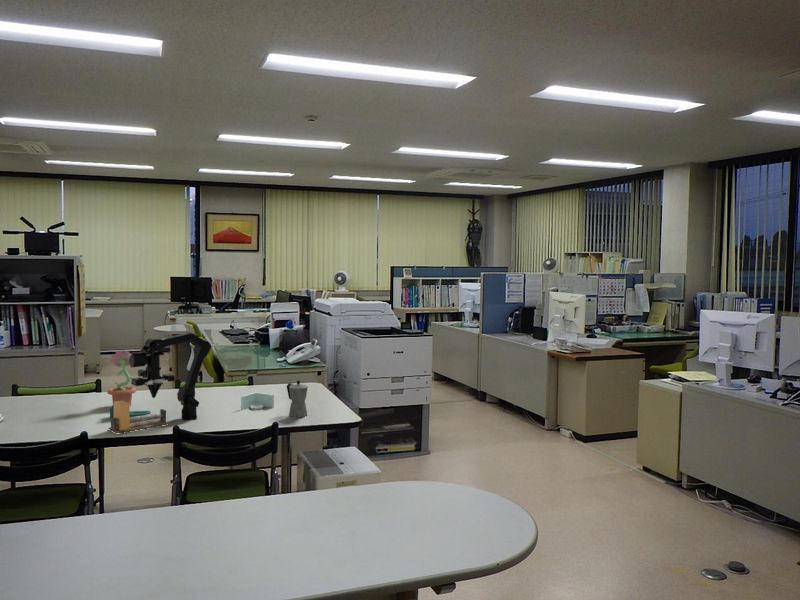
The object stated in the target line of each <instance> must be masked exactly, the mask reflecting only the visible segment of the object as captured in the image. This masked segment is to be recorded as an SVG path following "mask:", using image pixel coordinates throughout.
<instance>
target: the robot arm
mask: <svg viewBox="0 0 800 600" xmlns="http://www.w3.org/2000/svg"><path fill="white" fill-rule="evenodd" d="M188 342H189V343H190V344H191V345H192V346H193V359H192V362H191V365H190V368H189V370H188V371H189V372H188V374H187V376H186V380H185V383H184V385H183V386H182V387H181V386H179V388H178V392H177V393H176V395H177V398H176V399H177V401H178V402H180V405H182V408H181V419H183V420H182V421H186V420H188V421H189V420H197V418H198V414H197V413H198V412H197V411H198V409H197V408H198V407H199V405H200V401H198V400H197V399H196V398H195V397H196V388H195V387H196V385H197V380H198V377H199V375H200V372H201V368H202V365H203V362H204V361H205V358H206V357H207V356H208V355H209V353H210V351H211V349H212V344H211V342H210V341H208V340H204V339H202V338H201V337H199V336H198V335H197V334H195V333H193V332H184V333H181V334H175V335H171V336H167V337H149V338H147V339H146V341H145V342H144V345H143V347H142V348H141V349H140V351H139V352H135V351H133V352H130V359H129V364H130V365H129V367H130V368H139V367H140V368H141V367H145V369H142V368H141V369H138V370H137V376H138V377H135V378H134V377H132V378H133V379H132V380H131V379H130V384H131V385H132V386H134V387H141V386H146V387H147V388H148V390H149V393H150V396H151V397H152V398H153V399H155V398H156V396H157V395H158V392H159V390H160V388H161V387H162V385H164V382H163V381H167V382H169V383H170V382H175V381H176V376H175V375H174V374H171V373H165V374H162V375H161V370H162V367H161V363H160V362H161V358H160V357H161V356H165V352H163V351H162V350H164V349H166V347H170V346H173V345H178V344H183V343H188Z"/></svg>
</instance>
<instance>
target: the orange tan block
mask: <svg viewBox="0 0 800 600" xmlns="http://www.w3.org/2000/svg"><path fill="white" fill-rule="evenodd" d="M112 405H113V406H114V418H116V419H117V420H119V426H117V429H119V430H120V431H121V430H127V429H130V416H129V412H130V406H129V403H127V402H125V401H115V402H113V401H112Z"/></svg>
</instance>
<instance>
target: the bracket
mask: <svg viewBox="0 0 800 600" xmlns="http://www.w3.org/2000/svg"><path fill="white" fill-rule="evenodd" d="M148 414H151V411H150V410H131V411H130V410H129V416H130V417H136V416H142V415H148ZM112 417H114V406H113V404H112V405H111V407H110V409H109V420H110V419H111V418H112Z"/></svg>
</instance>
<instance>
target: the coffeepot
mask: <svg viewBox="0 0 800 600" xmlns="http://www.w3.org/2000/svg"><path fill="white" fill-rule="evenodd" d="M286 391H287V395H288V399H289V400H291V403H290V406H289V407H290V408H289V413H288V415H289V417H290V418H293V417H296V418H295V419H300V417H302V418H306V417H308V410H307V404H306V398H307V394H308V385H305V384H301V381H300V380H297V381H296V384H294V383H291V382H290V383H287V385H286ZM305 416H306V417H305Z"/></svg>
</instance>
